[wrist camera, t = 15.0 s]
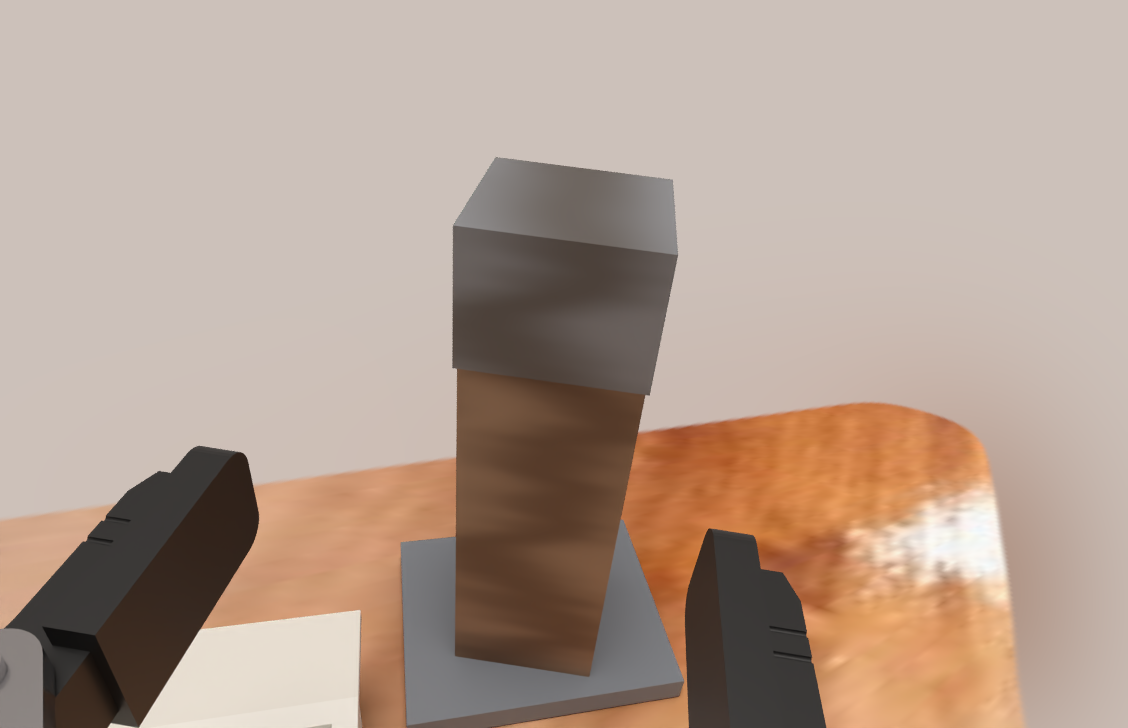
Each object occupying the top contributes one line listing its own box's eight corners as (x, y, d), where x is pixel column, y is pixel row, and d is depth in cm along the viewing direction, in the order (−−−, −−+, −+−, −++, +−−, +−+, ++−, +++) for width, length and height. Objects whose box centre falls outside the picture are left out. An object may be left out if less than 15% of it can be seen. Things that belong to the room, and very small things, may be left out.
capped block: (451, 657, 25) (453, 225, 16) (480, 549, 30) (495, 157, 20) (591, 680, 25) (678, 254, 16) (600, 566, 30) (672, 179, 20)
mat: (407, 740, 24) (406, 725, 23) (401, 557, 30) (400, 542, 30) (679, 696, 26) (684, 681, 26) (620, 534, 32) (623, 519, 32)
